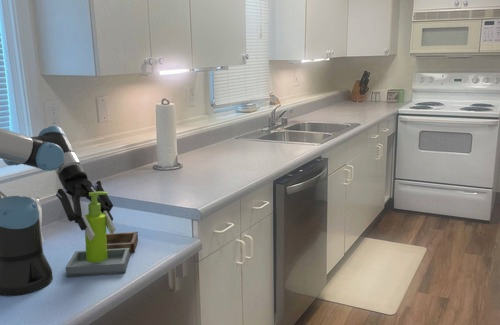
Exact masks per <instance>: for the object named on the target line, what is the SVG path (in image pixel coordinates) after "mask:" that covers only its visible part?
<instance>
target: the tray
mask: <svg viewBox="0 0 500 325" xmlns="http://www.w3.org/2000/svg"><path fill="white" fill-rule="evenodd" d="M130 258H131V253H130V252H129V248H120V249H107V259H106V260H104V261H102V262H88V261H87V260H86V250H76V251H74V252H73V254H72V256H71V258H70V260H69V261H68V262H67V265H66V266H65V273H66V278H76V277H77V278H78V277H92V276H106V275H107V276H108V275H119V274H126V271H127V268H128V264H129V261H130Z"/></svg>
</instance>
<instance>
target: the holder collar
mask: <svg viewBox="0 0 500 325" xmlns="http://www.w3.org/2000/svg"><path fill="white" fill-rule="evenodd" d="M138 236H139V234H138V231H130V232H129V231H128V232H127V231H126V232H114V233H113V234H110V233H106V237H107V249H120V248H129V252H130V254H134V253H135V252H136V248H137V247H138V246H137V245H138V242H139V237H138Z"/></svg>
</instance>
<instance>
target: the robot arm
mask: <svg viewBox="0 0 500 325" xmlns="http://www.w3.org/2000/svg"><path fill="white" fill-rule="evenodd" d="M0 159H1V160H2V161H3V162H4V163H5V165H7V166H19V165H25V166H29V167H31V168H32V167H33V168H36V169H39V170H42V171H48V172H49V171H54V172H55V173H56V175H57V177H58V179H59V181H60V184H61V185H62V187H63V188H58V190H57V192H56V194H55V195H56V197H57V199H59V200H60V203H61V206H62V207H63V210H64V212H65V215H66V217H67V220H68V222H73V221H74V223H75V224H78V227H79V229H80V230H81V231H84V234H85V233H86V235H87V237H88V238H89V240H92V239H93V238H94V236H95V234H94V232H93V230H92V228H91V226H90V224H89V222H88V220H87V218H86V217H85V215H84V216H83V213H82V212H83V211H82V207H81V198H86V199H87V200H89V201H90V202H91V196H89V192H96V191H104V192H106V191H105V189H104V188H103V186H102V182H101V181H100V180H97V181H96V182H94V181H93V182H92V181H91V180H90V179H89V178H88V175H87V173H86V171H85V168H84V167H83V166H82V163H81V162H80V159H79V157H78V156H77V154H76V153H75V150H74V148H73V146H72V144H71V143H70V140H69V137H68V136H67V135H66V133H65V132H64V130H63V129H62V128H61V127H60V126H57V125H50V126H48V127H45V128H43V129H42V130H40V131H39V133H38V135H37V136H28V135H24V134H21V133H18V132H16V131H15V132H14V131H12V130H8V129H4V128H1V127H0ZM67 194H68V195H69V196H71V201H72V204H73V207H72V204H71V202H70V200H69V197H68V195H67ZM29 197H30V196H20V195H9V196H6V194H4V193H3V192H2V191H1V190H0V296H5V297H6V296H7V297H10V296H20V295H26V294H30V293H34V292H36V291H39V290H41V289H43V288H45V287H47V286H48V285H50V283H51V282H53V279H54V276H53V275H54V274H53V269H52V267H51V266H50V264H49V262H48V259H47V258H46V256H45V253H44V249H43V242H42V238H41V232H42V228H41V229H40V219H39V211H38V207H37V203H36V202H35V201H34V200H33V199H31V198H29ZM97 202H99V203H100V204H101V213H103V214H105V215H106V229H107V230H108V231H109V234H113V233H115V231H116V229H117V228H116V226H115V224H114V222H113V221H114V218H113V215H112V213H111V211H112V209H113V207H114V204H113V203H112V201H111V199H110V198H109V196H108V195H97Z"/></svg>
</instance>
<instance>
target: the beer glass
mask: <svg viewBox="0 0 500 325" xmlns="http://www.w3.org/2000/svg"><path fill="white" fill-rule="evenodd" d="M28 197H29V198H31V199H33V200H34V201H35V202H36V203H37V207H38V211H39V219H40V229H41V230H42V223H43V222H42V220H43V209H42V204H41V198H40V197H39V196H28ZM41 238H42V243H44V241H45V240H44V237H43V233H42V231H41Z"/></svg>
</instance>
